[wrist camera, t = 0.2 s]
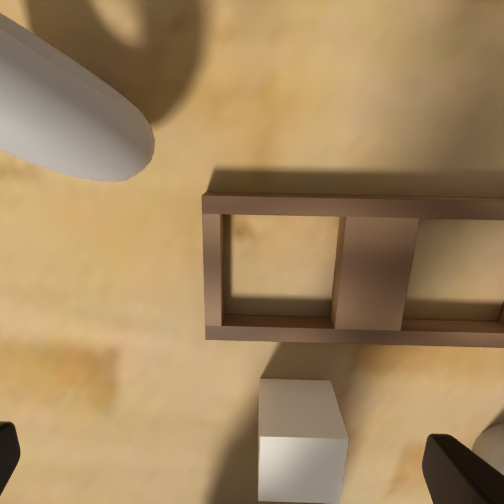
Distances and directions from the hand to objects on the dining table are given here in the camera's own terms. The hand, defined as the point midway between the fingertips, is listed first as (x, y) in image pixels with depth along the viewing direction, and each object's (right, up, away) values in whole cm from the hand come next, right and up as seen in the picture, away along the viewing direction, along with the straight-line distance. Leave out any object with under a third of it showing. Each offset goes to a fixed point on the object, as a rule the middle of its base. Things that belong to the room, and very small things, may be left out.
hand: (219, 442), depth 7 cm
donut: (-8, +12, +11) cm, 18 cm away
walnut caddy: (+8, +3, +13) cm, 16 cm away
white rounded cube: (+4, -7, +17) cm, 19 cm away
